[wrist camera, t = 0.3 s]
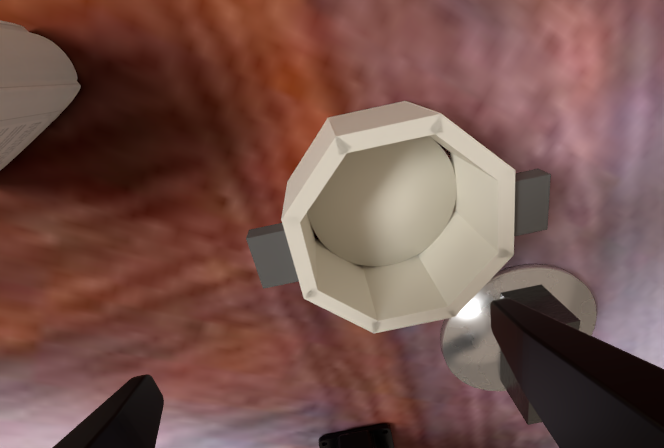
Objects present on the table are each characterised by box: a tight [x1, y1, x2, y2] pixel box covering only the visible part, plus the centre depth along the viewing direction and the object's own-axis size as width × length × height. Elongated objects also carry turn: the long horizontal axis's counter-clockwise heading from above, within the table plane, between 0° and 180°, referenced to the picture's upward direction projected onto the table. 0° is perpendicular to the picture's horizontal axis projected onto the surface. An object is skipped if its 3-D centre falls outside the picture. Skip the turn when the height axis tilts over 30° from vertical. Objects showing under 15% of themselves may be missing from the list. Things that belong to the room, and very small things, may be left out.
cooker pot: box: [246, 101, 551, 333], centre depth 20 cm, size 11×15×6 cm
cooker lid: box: [440, 264, 596, 425], centre depth 26 cm, size 12×12×5 cm
